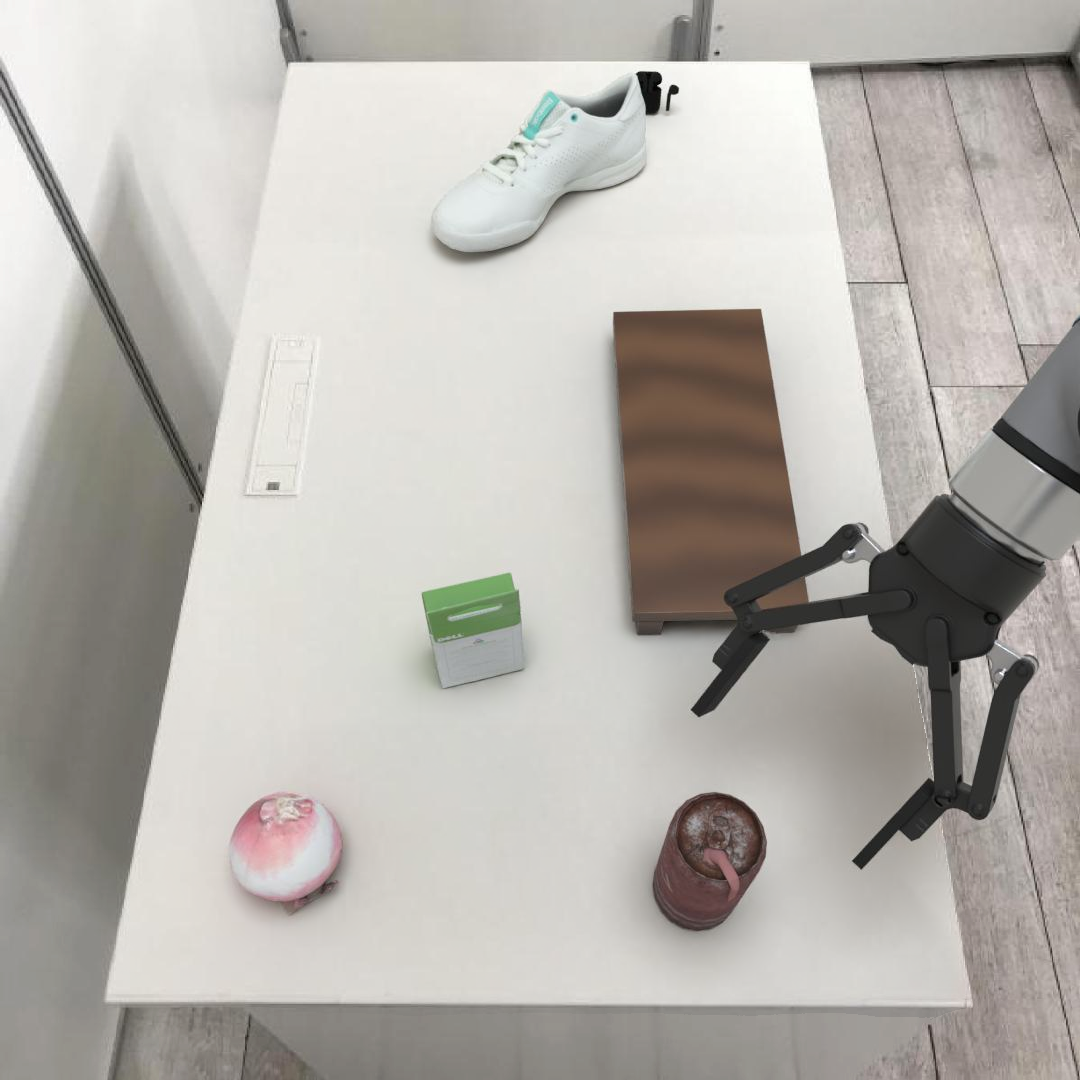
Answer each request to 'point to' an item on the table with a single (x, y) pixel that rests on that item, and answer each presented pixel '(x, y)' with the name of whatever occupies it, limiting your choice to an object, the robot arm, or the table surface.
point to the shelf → (701, 464)
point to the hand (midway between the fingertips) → (779, 782)
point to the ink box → (475, 629)
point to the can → (708, 860)
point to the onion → (285, 848)
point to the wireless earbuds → (654, 90)
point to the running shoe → (546, 166)
